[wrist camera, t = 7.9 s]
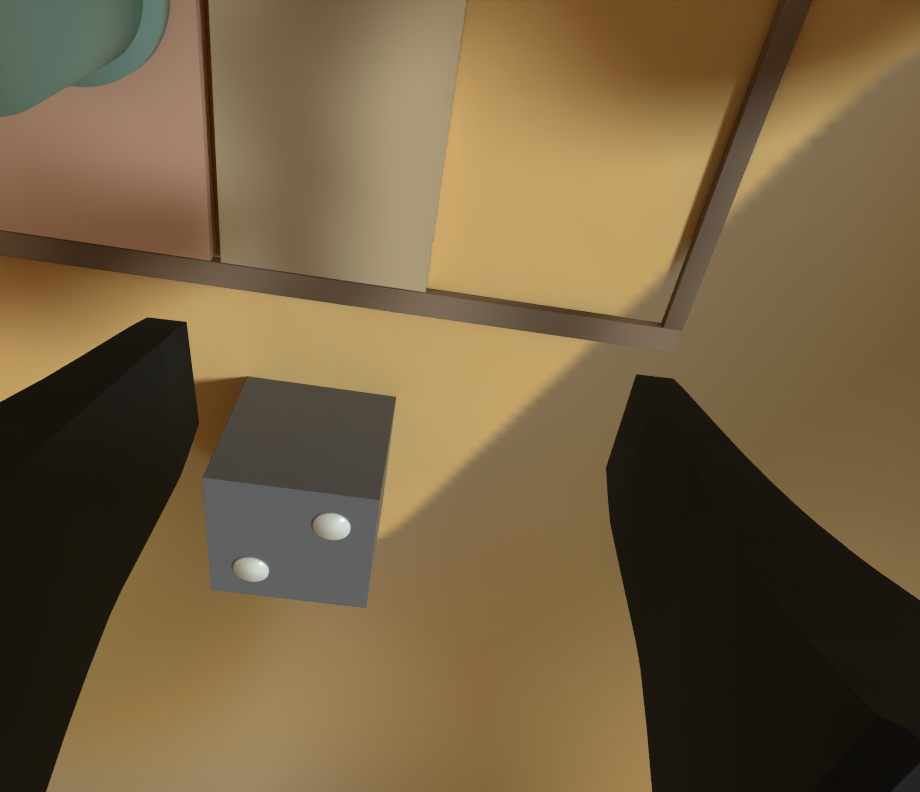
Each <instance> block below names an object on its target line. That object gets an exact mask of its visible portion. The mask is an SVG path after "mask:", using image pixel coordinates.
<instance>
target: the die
mask: <svg viewBox="0 0 920 792" xmlns="http://www.w3.org/2000/svg"><path fill="white" fill-rule="evenodd" d="M395 402H396V397H393V396H386V395H379V394H371V393H364V392H357V391H350V390H342V389H335V388H328V387H321V386H313V385H306V384H299V383H292V382H285V381H277V380H270V379H263V378H256V377H247V379H246V381H245V383H244V386H243V388H242V390H241V392H240V395H239V397H238V399H237V401H236V404H235V406H234V408H233V410H232V413H231V415H230V417H229V419H228V422H227V424H226V426H225V428H224V431H223V433H222V435H221V437H220V440H219V442H218V444H217V446H216V449H215V451H214V453H213V455H212V458H211V460H210V462H209V464H208V467H207V469H206V471H205V473H204V476H203V489H204V502H205V515H206V528H207V541H208V554H209V566H210V580H211V590H217V591H225V592H234V593H243V594H251V595H259V596H268V597H276V598H285V599H293V600H302V601H310V602H319V603H327V604H336V605H344V606H353V607H361V608H366V606H367V600H368V593H369V587H370V580H371V574H372V567H373V561H374V554H375V547H376V541H377V535H378V528H379V522H380V515H381V509H382V502H383V495H384V487H385V479H386V472H387V464H388V456H389V448H390V441H391V433H392V425H393V417H394V409H395Z"/></svg>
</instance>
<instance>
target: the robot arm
mask: <svg viewBox="0 0 920 792" xmlns="http://www.w3.org/2000/svg"><path fill="white" fill-rule="evenodd" d="M198 424H199V420H198V411H197V403H196V395H195V387H194V379H193V371H192V363H191V355H190V347H189V339H188V331H187V323H186V322H182V321H173V320H165V319H156V318H145V319H144V320H142V321H140V322H138V323H136V324H134V325H132V326H131V327H129V328H127V329H125V330H124V331H122V332H120V333H119V334H117V335H115V336H114V337H112V338H110V339H109V340H107V341H106V342H104V343H102V344H101V345H99V346H97V347H96V348H94V349H92V350H91V351H89V352H88V353H86V354H84V355H82V356H81V357H79V358H77V359H76V360H74V361H72V362H71V363H69V364H67V365H66V366H64V367H62V368H61V369H59V370H57V371H56V372H54V373H52V374H51V375H49V376H47V377H46V378H44V379H42V380H40V381H38V382H37V383H35V384H33V385H31V386H29V387H27V388H26V389H24V390H22V391H20V392H18V393H16V394H14V395H13V396H11V397H9V398H7V399H5V400H3V401H1V402H0V792H46V790H47V787H48V784H49V781H50V778H51V775H52V772H53V769H54V766H55V763H56V760H57V757H58V754H59V751H60V748H61V745H62V742H63V739H64V736H65V733H66V730H67V727H68V725H69V722H70V719H71V717H72V714H73V711H74V708H75V706H76V702H77V700H78V697H79V694H80V692H81V689H82V686H83V684H84V681H85V678H86V675H87V672H88V670H89V667H90V665H91V662H92V659H93V657H94V654H95V651H96V649H97V647H98V644H99V641H100V639H101V636H102V634H103V631H104V629H105V626H106V624H107V621H108V618H109V616H110V614H111V611H112V609H113V607H114V605H115V603H116V601H117V599H118V597H119V594H120V592H121V590H122V588H123V586H124V584H125V582H126V580H127V579H128V577H129V575H130V573H131V571H132V569H133V567H134V565H135V563H136V561H137V559H138V557H139V555H140V554H141V551H142V550H143V548H144V546H145V544H146V542H147V540H148V538H149V536H150V535H151V533H152V531H153V529H154V527H155V525H156V523H157V521H158V519H159V517H160V515H161V513H162V511H163V509H164V508H165V506H166V504H167V502H168V500H169V498H170V496H171V494H172V492H173V490H174V488H175V486H176V484H177V482H178V480H179V478H180V476H181V473H182V471H183V468H184V465H185V462H186V459H187V457H188V454H189V451H190V448H191V445H192V442H193V439H194V436H195V433H196V430H197V427H198ZM606 472H607V473H606V474H607V489H608V504H609V514H610V524H611V529H612V534H613V538H614V543H615V548H616V552H617V557H618V562H619V567H620V571H621V576H622V580H623V585H624V589H625V594H626V599H627V603H628V608H629V612H630V617H631V621H632V626H633V630H634V635H635V640H636V645H637V651H638V657H639V663H640V669H641V678H642V687H643V697H644V706H645V716H646V725H647V735H648V747H649V759H650V771H651V782H652V792H920V600H919V599H917V598H916V597H914V596H913V595H911V594H910V593H908V592H907V591H905V590H904V589H903V588H901V587H900V586H899V585H897V584H896V583H894V582H893V581H891V580H890V579H888V578H887V577H885V576H884V575H883V574H881V573H880V572H878V571H877V570H876V569H874V568H873V567H872V566H870V565H869V564H868V563H866V562H865V561H863V560H862V559H861V558H860V557H858V556H857V555H856V554H854V553H853V552H852V551H850V550H849V549H848V548H847V547H845V546H844V545H843V544H842V543H841V542H839V541H838V540H837V539H836V538H834V537H833V536H832V535H831V534H829V533H828V532H827V531H826V530H824V529H823V528H822V527H821V526H819V525H818V524H817V523H816V522H814V520H812V519H811V518H810V517H809V516H808V515H807V514H805V513H804V512H803V511H802V510H801V509H800V508H799V507H798V506H797V505H795V504H794V503H793V502H792V501H791V500H790V499H789V498H788V497H787V496H786V495H785V494H784V493H783V492H781V490H779V489H778V488H777V487H776V486H775V485H774V484H773V483H772V482H771V481H770V480H769V479H768V478H767V477H766V476H765V475H764V474H763V473H762V472H761V471H760V470H759V469H758V468H757V467H756V466H755V465H754V464H753V463H752V462H751V461H750V460H749V459H748V458H747V457H746V456H745V455H744V454H743V453H742V452H741V451H740V450H739V449H738V448H737V447H736V445H735V444H734V443H733V442H732V441H731V440H730V439H729V438H728V437H727V436H726V435H725V434H724V433H723V431H722V430H721V429H720V428H719V427H718V426H717V425H716V424H715V423H714V422H713V421H712V419H711V418H710V417H709V416H708V415H707V414H706V413H705V412H704V411H703V410H702V409H701V407H700V406H699V405H698V404H697V403H696V402H695V401H694V400H693V398H692V397H690V395H689V394H688V393H687V392H686V391H685V390H684V389H683V388H682V387H681V386H680V385H679V384H678V383H677V382H676V381H675V380H674V379H671V378H662V377H654V376H645V375H636V377H635V380H634V384H633V386H632V390H631V393H630V396H629V399H628V402H627V405H626V409H625V411H624V415H623V417H622V421H621V423H620V427H619V430H618V433H617V436H616V439H615V442H614V445H613V448H612V451H611V454H610V458H609V460H608V464H607V467H606Z"/></svg>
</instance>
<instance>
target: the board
mask: <svg viewBox="0 0 920 792" xmlns="http://www.w3.org/2000/svg"><path fill="white" fill-rule="evenodd" d="M466 2H467V0H208V3H209V24H210V45H211V66H212V86H213V107H214V128H215V149H216V169H217V190H218V211H219V232H220V253H221V258H214V257H213V256H214V255H215V253H216V252H217V251H216V232H215V212H214V193H213V174H212V154H211V135H210V116H209V96H208V77H207V58H206V38H205V19H204V0H170V8H169V18H168V22H167V26H166V30H165V32H164V35H163V37H162V40H161V42H160V44H159V46H158V47H157V49H156V51H155V52H154V53H153V54H152V56H151V57H150V58H149V59H148V60H147V61H146V62H145V63H144V64H143V65H142V66H140V67H139V68H138V69H136V70H135V71H133V72H132V73H130V74H128V75H127V76H125V77H123V78H122V79H120V80H118V81H115V82H112V83H110V84H106V85H101V86H96V87H76V86H69V87H67V88H65V89H64V90H62V91H60V92H58V93H57V94H55V95H53V96H51V97H50V98H48V99H46V100H44V101H43V102H41V103H39V104H37V105H36V106H34V107H32V108H31V109H29V110H27V111H24V112H22V113H19V114H16V115H11V116H6V117H0V255H2V256H9V257H16V258H23V259H30V260H37V261H44V262H51V263H58V264H65V265H72V266H79V267H86V268H92V269H99V270H106V271H113V272H120V273H127V274H134V275H141V276H148V277H155V278H162V279H169V280H176V281H183V282H189V283H196V284H203V285H210V286H217V287H224V288H231V289H238V290H245V291H252V292H259V293H266V294H273V295H280V296H286V297H293V298H300V299H307V300H314V301H321V302H328V303H335V304H342V305H349V306H356V307H363V308H370V309H377V310H384V311H390V312H397V313H404V314H411V315H418V316H425V317H432V318H439V319H446V320H453V321H460V322H467V323H474V324H481V325H487V326H494V327H501V328H508V329H515V330H522V331H529V332H536V333H543V334H550V335H557V336H564V337H571V338H578V339H584V340H591V341H598V342H605V343H612V344H619V345H626V346H633V347H640V348H647V349H654V350H662V351H668V352H674V350H675V347H676V345H677V343H678V340H679V337H680V335H681V332H682V330H683V327H684V325H685V322H686V320H687V317H688V314H689V312H690V310H691V307H692V304H693V302H694V299H695V297H696V294H697V292H698V289H699V287H700V284H701V282H702V279H703V276H704V274H705V271H706V269H707V266H708V264H709V261H710V259H711V256H712V254H713V251H714V248H715V246H716V243H717V241H718V238H719V236H720V233H721V231H722V228H723V226H724V223H725V221H726V218H727V215H728V213H729V210H730V208H731V205H732V203H733V200H734V198H735V195H736V193H737V190H738V187H739V185H740V182H741V180H742V177H743V175H744V172H745V170H746V167H747V165H748V162H749V160H750V157H751V154H752V152H753V149H754V147H755V144H756V142H757V139H758V137H759V134H760V132H761V129H762V126H763V124H764V121H765V119H766V116H767V114H768V111H769V109H770V106H771V104H772V101H773V98H774V96H775V93H776V91H777V88H778V86H779V83H780V81H781V78H782V76H783V73H784V70H785V68H786V65H787V63H788V60H789V58H790V55H791V53H792V50H793V48H794V45H795V42H796V40H797V37H798V35H799V32H800V30H801V27H802V25H803V22H804V20H805V17H806V15H807V12H808V9H809V7H810V4H811V2H812V0H781V2H780V4H779V7H778V10H777V12H776V15H775V18H774V20H773V23H772V26H771V29H770V31H769V34H768V37H767V39H766V42H765V45H764V47H763V50H762V53H761V56H760V58H759V61H758V64H757V66H756V69H755V72H754V74H753V77H752V80H751V83H750V85H749V88H748V91H747V93H746V96H745V99H744V101H743V104H742V107H741V110H740V112H739V115H738V118H737V120H736V123H735V126H734V128H733V131H732V134H731V137H730V139H729V142H728V145H727V147H726V150H725V153H724V155H723V158H722V161H721V164H720V166H719V169H718V172H717V174H716V177H715V180H714V182H713V185H712V188H711V191H710V193H709V196H708V199H707V201H706V204H705V207H704V209H703V212H702V215H701V218H700V220H699V223H698V226H697V228H696V231H695V234H694V236H693V239H692V242H691V245H690V247H689V250H688V253H687V255H686V258H685V261H684V263H683V266H682V269H681V272H680V274H679V277H678V280H677V282H676V285H675V288H674V291H673V293H672V296H671V299H670V301H669V304H668V307H667V310H666V312H665V315H664V318H663V320H662V323H656V322H650V321H643V320H636V319H629V318H622V317H616V316H609V315H602V314H595V313H588V312H582V311H575V310H568V309H561V308H554V307H548V306H541V305H534V304H527V303H520V302H514V301H507V300H500V299H493V298H486V297H480V296H473V295H466V294H459V293H452V292H446V291H439V290H432V289H426V286H427V279H428V272H429V265H430V258H431V251H432V244H433V237H434V229H435V222H436V215H437V208H438V201H439V194H440V187H441V180H442V173H443V166H444V158H445V151H446V144H447V137H448V130H449V123H450V116H451V109H452V102H453V94H454V87H455V80H456V73H457V66H458V59H459V52H460V45H461V38H462V30H463V23H464V16H465V9H466Z"/></svg>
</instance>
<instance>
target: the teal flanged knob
mask: <svg viewBox="0 0 920 792" xmlns="http://www.w3.org/2000/svg"><path fill="white" fill-rule="evenodd" d="M169 8H170V0H0V117H6V116H11V115H16V114H19V113H22V112H24V111H27V110H29V109H31V108H32V107H34V106H36V105H37V104H39V103H41V102H43V101H44V100H46V99H48V98H50V97H51V96H53V95H55V94H57V93H58V92H60V91H62V90H64V89H65V88H67V87H69V86H76V87H96V86H101V85H106V84H110V83H112V82H115V81H118V80H120V79H122V78H123V77H125V76H127V75H128V74H130V73H132V72H133V71H135V70H136V69H138V68H139V67H140V66H142V65H143V64H144V63H145V62H146V61H147V60H148V59H149V58H150V57H151V56H152V54H153V53H154V52H155V51H156V49H157V47H158V46H159V44H160V42H161V40H162V37H163V35H164V32H165V30H166V26H167V22H168V18H169Z"/></svg>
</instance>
